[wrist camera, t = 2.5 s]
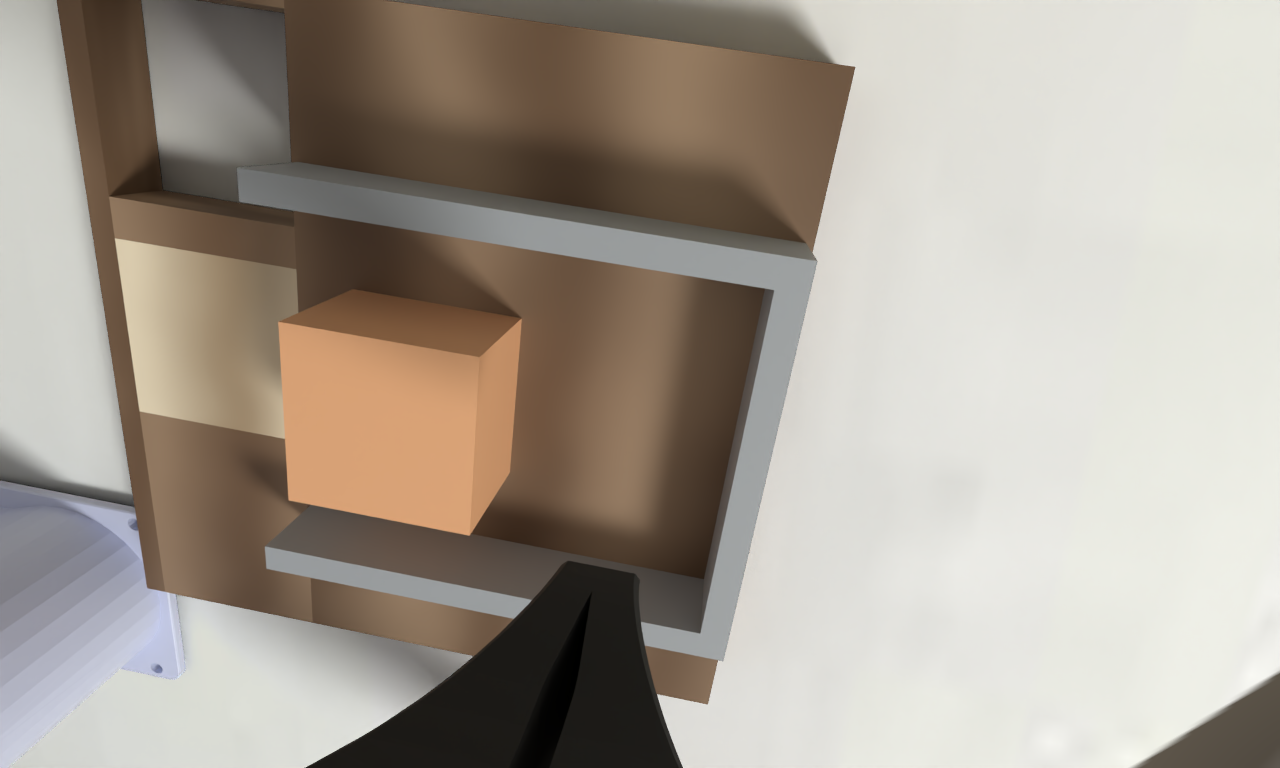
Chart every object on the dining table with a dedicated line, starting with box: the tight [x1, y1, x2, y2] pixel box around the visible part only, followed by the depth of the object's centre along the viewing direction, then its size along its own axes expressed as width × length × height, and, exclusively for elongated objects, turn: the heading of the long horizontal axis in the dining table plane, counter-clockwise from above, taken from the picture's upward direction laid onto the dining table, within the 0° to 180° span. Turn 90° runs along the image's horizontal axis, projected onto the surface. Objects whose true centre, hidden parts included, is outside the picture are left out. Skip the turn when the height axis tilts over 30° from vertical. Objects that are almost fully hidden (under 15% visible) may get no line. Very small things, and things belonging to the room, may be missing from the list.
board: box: [57, 0, 855, 704], centre depth 21 cm, size 20×20×2 cm
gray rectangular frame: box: [237, 162, 817, 661], centre depth 19 cm, size 14×12×2 cm
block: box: [278, 289, 522, 536], centre depth 19 cm, size 5×5×4 cm
